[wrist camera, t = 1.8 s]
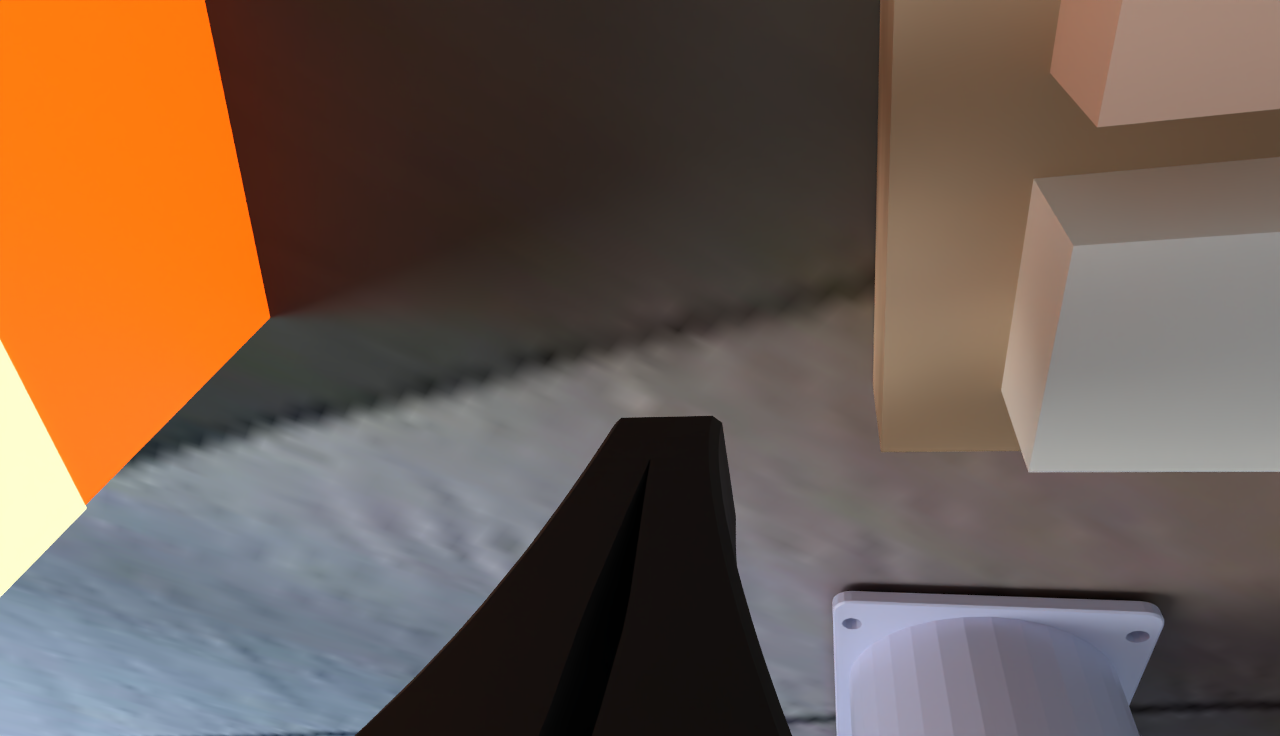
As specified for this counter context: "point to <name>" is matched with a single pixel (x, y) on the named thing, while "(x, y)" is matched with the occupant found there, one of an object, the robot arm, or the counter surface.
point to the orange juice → (109, 247)
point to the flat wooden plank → (984, 200)
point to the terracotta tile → (1168, 58)
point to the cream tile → (1149, 321)
